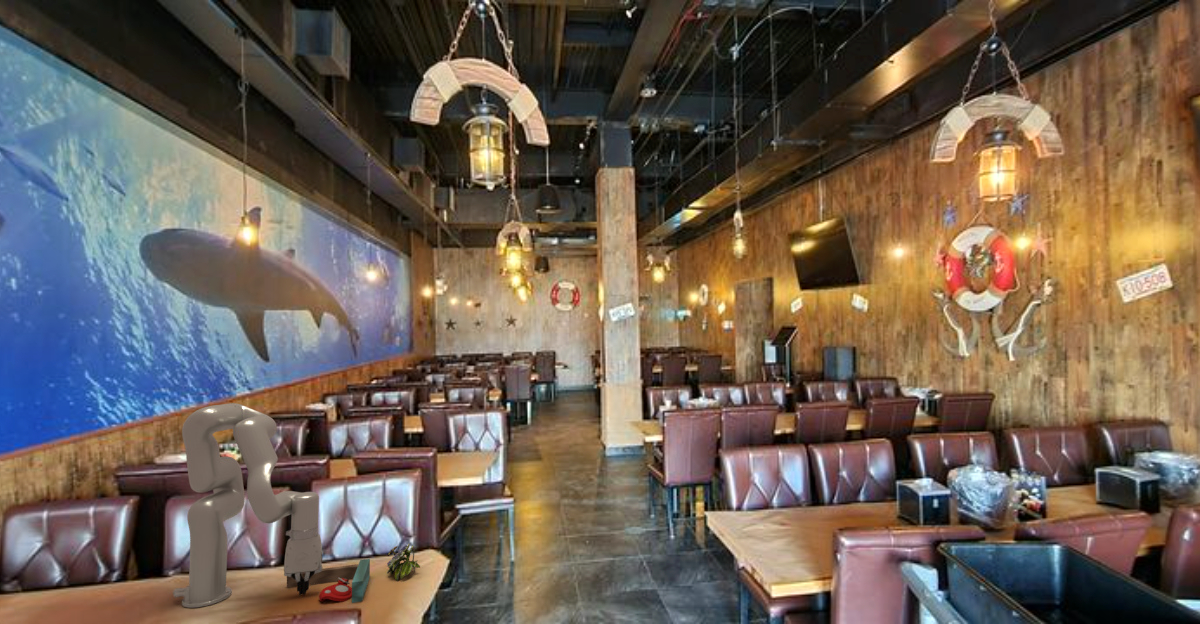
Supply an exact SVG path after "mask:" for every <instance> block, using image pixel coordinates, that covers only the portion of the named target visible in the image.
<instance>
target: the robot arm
mask: <svg viewBox="0 0 1200 624" xmlns="http://www.w3.org/2000/svg"><path fill="white" fill-rule="evenodd" d="M277 429H278V428H277V423H276V421H275V420H274V419H273V418H272V417H271V416H269V415H268V414H265V413H263V412H262V411H257V410H256V409H252V408H250V407H248V406H246V405H243V404H240V403H236V402H235V403H233V402H231V403H223V404H213V405H210V406H205V407H202V408H199V409H197V410H195V411H194V412H192V413H191V414H190V415H189V416H187V418H186V419H185V421H184V422H183V425H182V430H181V431H182V432H181V436H182V440H183V444H184V447H185V456H186V457H185V458H186V465H187V473H188V474H187V475H188V482H189V486H190V488H191V490H192V491H194V492H196V493H206V492H210V491H212V492H213V493H211V494H208V495H206V496H203V497H201V498H200V499H198V500H196V501H195V502H194V503H193V504H191V506H190V507H189V509H188V512H187V525H188V531H189V540H190V541H189V545H190V546H189V569H188V571H189V573H188V574H189V575H188V585H187V586H186V587H178V588H174V589H173V591H172V595H173V597H174V598H180V597H183V598H182V600H181V605H182V607H185V608H187V609H190V608H191V609H192V608H195V609H196V608H201V607H206V606H211V605H213V604H214V605H215V604H217V603H219V602H220V603H221V602H222V601H224V600H225V599H228V598H229V597H230V596H231V595H232V593H233V589H232V588H231V587H230V586H227V571H228V570H227V566H228V565H227V563H228V559H227V558H228V533H227V529H226V527H225V525H224V522H225V521H227V520H229V519H231V518H233V517H235V516H237V515H239V514H240V513H241V511H242V510H243V508H244V506H245V501H246V500H245V499H246V497H245V489H244V478H243V472H242V471H243V470H242V468H241V465H240V464H239V462H238V461H237V459H235V458H234V457H232V456H221V454H220V446H219V443H218V441H217V439H216V437H215V436H214V433H217V432H222V431H228V430H232V435H233V438H234V442H235V443H236V446H237V448H238V450H239V452H240V455H241V457H242V459H243V461H244V464H245V466H246V468H247V471H248V474H247V480H246V481H247V482H246V484H247V485H246V492H247V493H246V494H247V499H248V502H249V504H250V507H251V509H252V511H253V513H254V515H255V516H256V517H257V519H258V520H259V522H261V523H264V524H273V523H275V522H277V521H280V520H282V519H283V518H285V517H288V516H290V515H291V522H290V523H291V525H290V527H291V528H290V530H287V531H285V536H289V539H288V540H287V543H286V547H285V554H284V562H283V563H284V564H283V571H284V573H283V576H284V577H287V576H289V577H290V576H291V577H293V578H294V579H295V580H296V582H297V587H296V591H297V592H298V596H301V595H306V593H307V591H309V587H310V585H309V579H310V577H311V576H312V575H313V574H315V573H319V572H321V571H322V569H324V568H323V566H322V563H323V547H322V539H321V534H319V505H320V496H319V494H318V493H317V492H315V491H305V492H300V491H293V490H284V491H281V492H279V493H277V494H275V493H274V490H273V488H272V483H271V478H272V477H271V476H272V473H273V470H274V469H275V466H276V465H277V462H278V459H279V458H278V455H277V453H276V451H275V448H274V446H273V444H272V442H271V439H272V438H273V437H274V436H275V435H276V433H277ZM303 572H306V573H305V578H304V579H303V577H302V573H303Z"/></svg>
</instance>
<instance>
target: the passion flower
mask: <svg viewBox="0 0 1200 624" xmlns="http://www.w3.org/2000/svg"><path fill="white" fill-rule="evenodd" d="M410 545H411V543H408V544H407V545H404V546H403V547H402V548H400V550H399V551H397V552H395V550H396V549H397V548H398V545H396V546H394V547H393V548H392V549H390V551H389V552H388V553H387V557H389V556H391V555H392V554H393V556H392V558H391V559H390V560H389V561H388V562H387V563H386V564H387V565H386V568H387V567H388V570H387V572H386V573H387V574H394V580H396V581H399V577H400V579H403V578H404V577H405V576H408V575H409V574H410V573H411V571H412V569H413V572H414V573H416V568H418V569H420V568H421V565H420V564H419V563H418V560H415V552H416V551H415V550H416V547H415V546H414V545H411V547H410ZM411 553H412V560H410V557H411ZM414 560H415V561H414ZM402 561H403V562H402Z"/></svg>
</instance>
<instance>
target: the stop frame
mask: <svg viewBox="0 0 1200 624" xmlns="http://www.w3.org/2000/svg"><path fill="white" fill-rule="evenodd" d="M370 566H371V559H370V558H364V559H360V560H359V563H357V564H356V563H355V564H349V565H343V566H341V565H340V566H333V567H325V568H323V569H322V571H321V572H319V573H315V574H313V575H312V576H311V577H310V579H309V586H312V585H319V584H328V583H334V582H338V581H339V579H338V578H344V579H347V580H348V581H350V580H352V581H351V588H352V598H351V604H354V603H360V602H363V601H364V597H365V594H366V591H367V587H368V583H369V580H370V577H371V573H370V572H371V567H370ZM305 573H306V572H303V573H302V577H303V579H304V578H305ZM290 588H291V589H292V588H297V582H296V580H295V579H294V578H293V577H291V576H290V577H289V576H286V589H290Z"/></svg>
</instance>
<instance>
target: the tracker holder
mask: <svg viewBox="0 0 1200 624" xmlns="http://www.w3.org/2000/svg"><path fill="white" fill-rule="evenodd" d="M338 579H339V581H337V583H335V584H331V585H329V586H326V587H324V588H322V590H321V591H320V593H319V594H318V598H319V601H320V602H322V603H323V602H325V601H326V600H331V601H334V602H346V601H348V600H350V599H352V586H349V585H350V584H351V583H350V582H349V581H350V580H347V579H344V578H338Z"/></svg>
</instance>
